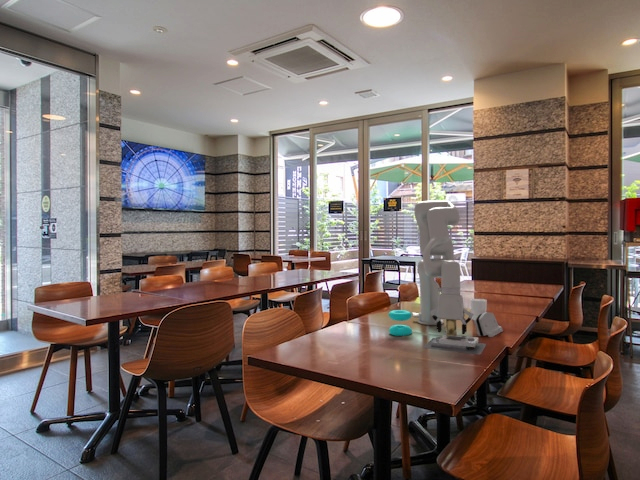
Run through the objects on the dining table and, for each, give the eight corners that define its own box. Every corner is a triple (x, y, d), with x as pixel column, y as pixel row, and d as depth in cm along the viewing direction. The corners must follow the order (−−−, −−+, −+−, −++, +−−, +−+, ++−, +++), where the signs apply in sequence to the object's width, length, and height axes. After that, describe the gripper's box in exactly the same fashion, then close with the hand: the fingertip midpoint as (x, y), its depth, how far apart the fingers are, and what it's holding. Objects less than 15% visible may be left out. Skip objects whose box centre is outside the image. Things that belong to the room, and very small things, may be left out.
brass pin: (445, 340, 168) (445, 316, 168) (447, 337, 172) (447, 314, 172) (455, 341, 166) (455, 316, 166) (457, 338, 170) (457, 315, 170)
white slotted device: (489, 338, 170) (481, 314, 172) (479, 340, 173) (471, 317, 175) (503, 330, 182) (495, 308, 184) (493, 332, 185) (485, 311, 187)
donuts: (410, 314, 173) (386, 313, 177) (410, 337, 174) (387, 336, 177) (412, 309, 183) (390, 309, 186) (413, 332, 183) (391, 330, 186)
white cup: (488, 318, 207) (488, 299, 207) (485, 321, 201) (485, 301, 201) (472, 317, 212) (472, 298, 211) (468, 320, 205) (468, 300, 205)
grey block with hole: (431, 346, 158) (430, 337, 158) (436, 340, 166) (436, 332, 166) (474, 351, 150) (474, 341, 150) (478, 345, 158) (478, 336, 158)
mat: (422, 349, 156) (422, 347, 156) (432, 339, 170) (432, 338, 170) (480, 356, 146) (480, 354, 146) (486, 345, 160) (486, 343, 160)
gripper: (427, 291, 170) (428, 332, 170) (471, 293, 161) (471, 336, 161) (432, 289, 176) (432, 328, 177) (474, 291, 168) (475, 332, 168)
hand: (451, 332), depth 169 cm, fingers open, 9 cm apart
